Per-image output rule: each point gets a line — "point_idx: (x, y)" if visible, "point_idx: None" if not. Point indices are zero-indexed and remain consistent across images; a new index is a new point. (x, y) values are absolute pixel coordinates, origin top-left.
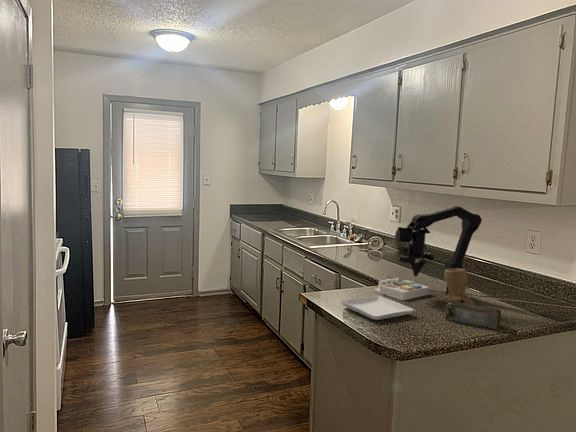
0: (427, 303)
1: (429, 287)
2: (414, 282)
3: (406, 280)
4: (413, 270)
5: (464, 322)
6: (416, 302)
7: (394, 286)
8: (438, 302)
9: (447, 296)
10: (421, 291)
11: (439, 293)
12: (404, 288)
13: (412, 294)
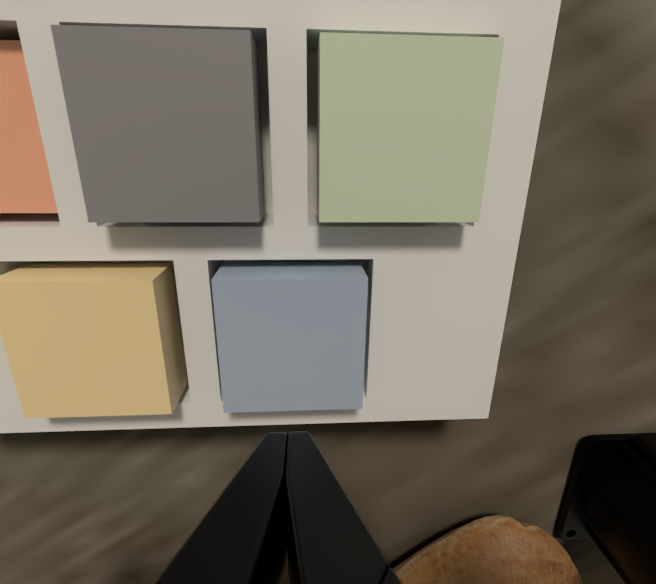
0: (158, 522)
1: (477, 416)
2: (475, 220)
3: (453, 67)
4: (194, 556)
5: None
6: (78, 471)
7: (47, 116)
8: None
9: (405, 577)
10: None
11: (584, 389)
12: (21, 357)
13: None
